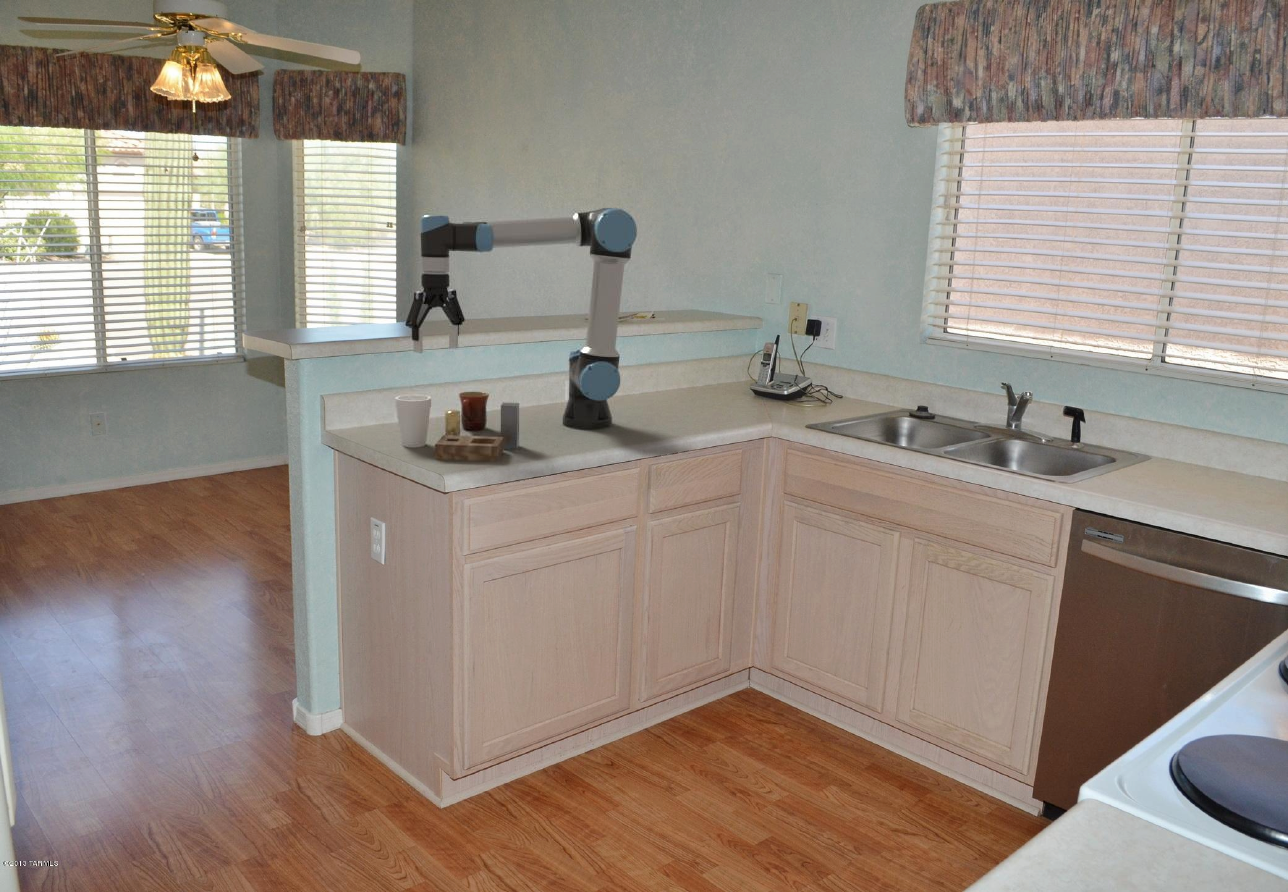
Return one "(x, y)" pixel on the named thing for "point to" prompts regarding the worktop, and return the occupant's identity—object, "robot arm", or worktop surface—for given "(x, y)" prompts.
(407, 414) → the foam cup
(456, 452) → the socket block
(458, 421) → the brass dowel
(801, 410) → the worktop surface
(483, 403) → the mug
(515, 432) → the square bit
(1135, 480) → the worktop surface
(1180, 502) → the worktop surface
